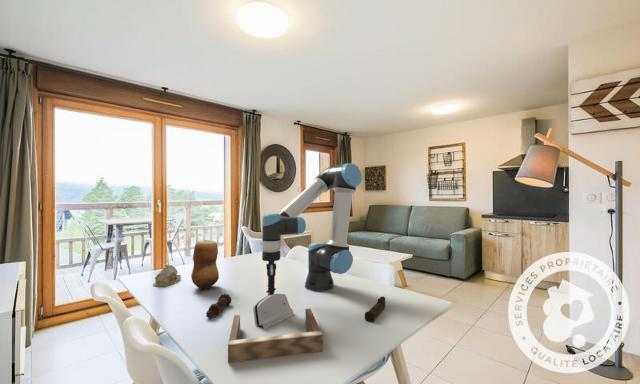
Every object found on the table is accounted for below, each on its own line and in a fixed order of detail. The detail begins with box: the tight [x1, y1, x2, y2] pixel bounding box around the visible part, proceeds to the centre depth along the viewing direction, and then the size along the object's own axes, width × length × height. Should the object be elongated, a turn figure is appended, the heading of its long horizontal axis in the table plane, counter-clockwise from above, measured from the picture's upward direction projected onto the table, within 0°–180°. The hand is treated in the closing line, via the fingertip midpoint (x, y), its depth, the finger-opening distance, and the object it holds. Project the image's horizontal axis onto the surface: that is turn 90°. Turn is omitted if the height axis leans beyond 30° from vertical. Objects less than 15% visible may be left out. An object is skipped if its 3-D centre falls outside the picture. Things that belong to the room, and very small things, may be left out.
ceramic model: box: [152, 264, 182, 287], centre depth 158 cm, size 14×11×10 cm
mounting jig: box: [227, 308, 324, 364], centre depth 95 cm, size 28×21×5 cm
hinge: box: [252, 293, 294, 330], centre depth 111 cm, size 17×5×10 cm, turn 145°
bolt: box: [205, 293, 232, 319], centre depth 118 cm, size 6×5×15 cm
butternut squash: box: [190, 239, 220, 291], centre depth 148 cm, size 14×13×25 cm
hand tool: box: [364, 296, 386, 323], centre depth 115 cm, size 19×4×5 cm, turn 147°
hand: (271, 306), depth 118 cm, fingers closed
